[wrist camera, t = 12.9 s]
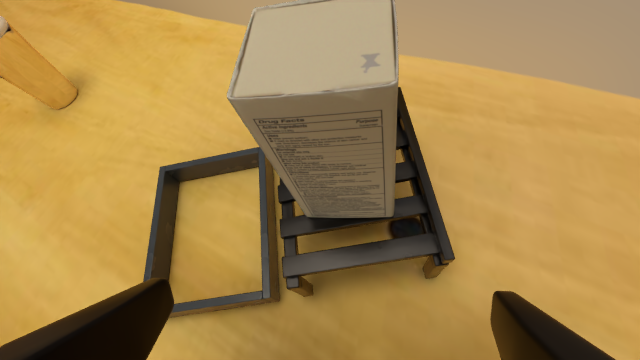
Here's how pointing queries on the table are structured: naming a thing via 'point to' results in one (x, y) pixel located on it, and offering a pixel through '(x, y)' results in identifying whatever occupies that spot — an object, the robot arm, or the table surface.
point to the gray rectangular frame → (165, 224)
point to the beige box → (324, 101)
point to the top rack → (374, 252)
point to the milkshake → (32, 70)
